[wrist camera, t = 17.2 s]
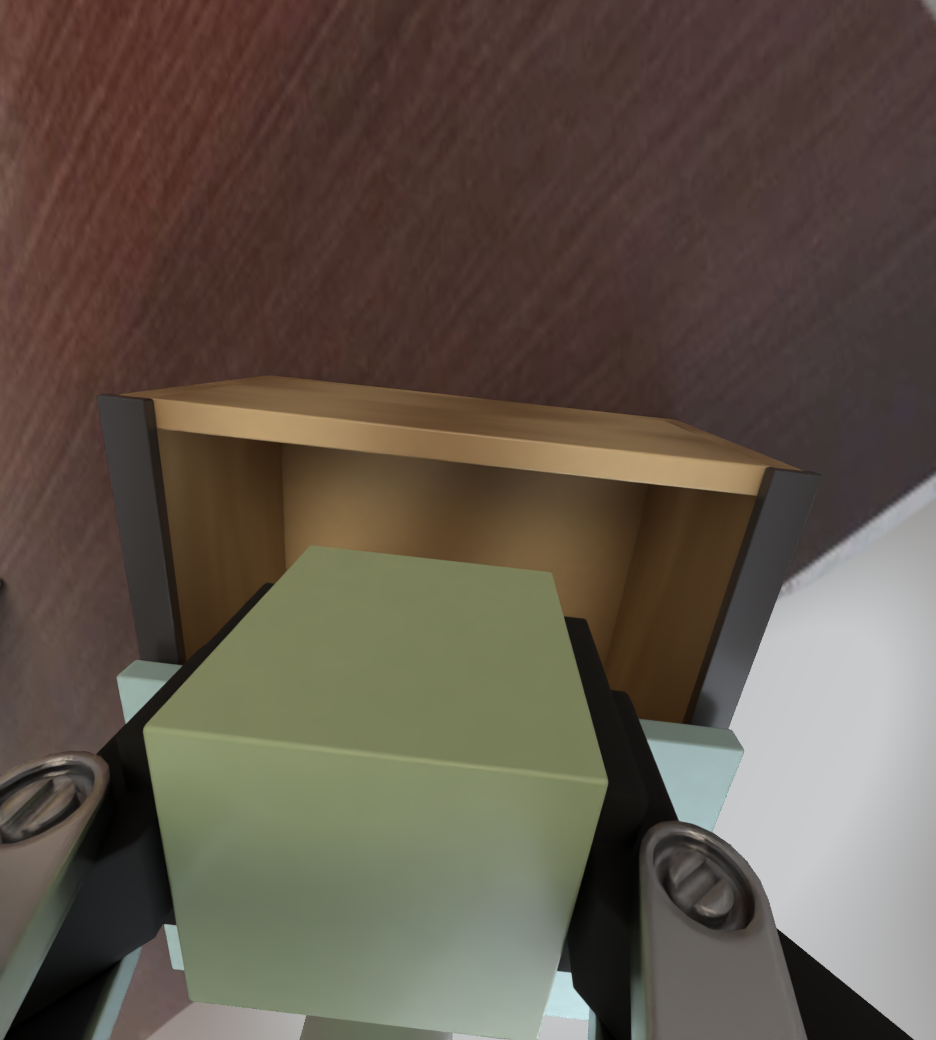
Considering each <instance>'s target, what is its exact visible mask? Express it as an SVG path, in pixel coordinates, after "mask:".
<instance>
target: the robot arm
mask: <svg viewBox="0 0 936 1040" xmlns="http://www.w3.org/2000/svg"><path fill="white" fill-rule="evenodd" d="M274 584H275V583H265V584H264V585H263V586H262V587H261V588H260V589H259V590H258V591H257V592H256V593H255V594H254V595H253V596H252V597H251V598H250V599H249V600H248V601H247V602H246V603H245V604H244V605H243V607H242V608H241V609H240V610H239V611H238V612H237V613H236V614H235V615H234V616H233V617H232V618H231V619H230V620H229V621H228V622H227V623H226V624H225V625H224V626H223V627H222V628H221V629H220V630H219V631H218V632H217V634H216V635H215V636H214V637H213V638H212V639H211V640H210V641H209V642H208V643H207V644H206V645H204V646H202V647H201V648H200V649H199V650H197V651H196V652H195V653H194V654H193V655H192V656H191V657H190V659H189V660H188V661H187V662H186V663H185V664H184V665H183V666H182V667H181V668H180V669H179V670H178V671H177V672H176V673H175V674H174V675H173V676H172V677H171V678H170V679H169V680H168V681H167V682H166V683H165V684H164V685H163V686H162V687H161V688H160V689H159V690H158V691H157V692H156V693H155V694H154V696H153V697H152V698H151V699H150V700H149V701H148V702H147V703H146V704H145V705H144V706H143V707H142V708H141V709H140V710H139V711H138V712H137V713H136V714H135V715H134V716H133V717H132V718H131V719H130V720H129V721H128V722H127V723H126V724H125V725H124V726H123V727H122V728H121V729H120V730H119V732H118V733H117V734H116V735H115V736H114V737H113V738H112V739H111V740H110V741H109V742H108V743H107V744H106V745H105V746H104V747H103V748H102V749H101V750H100V751H99V752H98V753H97V754H93V753H90V752H87V751H66V752H60V753H54V754H49V755H46V756H43V757H40V758H37V759H34V760H31V761H28V762H25V763H23V764H21V765H19V766H17V767H15V768H13V769H11V770H9V771H7V772H5V773H3V774H2V775H0V1040H109V1039H110V1036H111V1033H112V1030H113V1027H114V1025H115V1022H116V1019H117V1016H118V1014H119V1011H120V1008H121V1005H122V1003H123V1000H124V997H125V994H126V991H127V989H128V986H129V983H130V980H131V978H132V975H133V972H134V969H135V967H136V964H137V961H138V958H139V955H140V952H141V948H142V945H144V944H145V943H147V942H149V941H150V940H152V939H153V938H155V936H156V935H157V933H158V931H159V929H160V928H161V926H162V924H168V925H176V919H175V913H174V908H173V902H172V896H171V890H170V885H169V879H168V873H167V867H166V862H165V856H164V850H163V844H162V838H161V833H160V827H159V821H158V815H157V810H156V804H155V798H154V792H153V787H152V781H151V775H150V769H149V764H148V758H147V752H146V746H145V740H144V735H143V729H144V727H145V725H146V724H147V723H148V722H149V720H150V719H151V718H152V717H153V716H154V715H155V714H156V713H157V712H158V711H159V710H160V708H161V707H162V706H163V705H164V704H165V703H166V702H167V701H168V700H169V699H170V698H171V696H172V695H173V694H174V693H175V692H176V691H177V690H178V689H179V688H180V687H181V686H182V684H183V683H184V682H185V681H186V680H187V679H188V678H189V677H190V676H191V675H192V674H193V673H194V671H195V670H196V669H197V668H198V667H199V666H200V665H201V664H202V663H203V662H204V661H205V659H206V658H207V657H208V656H209V655H210V654H211V653H212V652H213V651H214V650H215V649H216V647H217V646H218V645H219V644H220V643H221V642H222V641H223V640H224V639H225V638H226V637H227V635H228V634H229V633H230V632H231V631H232V630H233V629H234V628H235V627H236V626H237V625H238V624H239V622H240V621H241V620H242V619H243V618H244V617H245V616H246V615H247V614H248V613H249V612H250V610H251V609H252V608H253V607H254V606H255V605H256V604H257V603H258V602H259V601H260V600H261V598H262V597H263V596H264V595H265V594H266V593H267V592H268V591H269V590H270V589H271V588H272V586H273V585H274ZM564 619H565V623H566V627H567V631H568V634H569V638H570V642H571V645H572V649H573V653H574V656H575V660H576V664H577V667H578V671H579V675H580V679H581V682H582V686H583V690H584V693H585V697H586V701H587V704H588V708H589V712H590V716H591V719H592V723H593V727H594V730H595V734H596V738H597V741H598V745H599V749H600V752H601V756H602V760H603V764H604V767H605V771H606V775H607V778H608V786H607V790H606V794H605V797H604V801H603V805H602V808H601V812H600V816H599V819H598V823H597V826H596V830H595V834H594V837H593V841H592V845H591V848H590V852H589V856H588V859H587V863H586V866H585V870H584V874H583V877H582V881H581V885H580V888H579V892H578V896H577V899H576V903H575V906H574V910H573V914H572V917H571V921H570V925H569V928H568V932H567V936H566V939H565V943H564V946H563V950H562V954H561V957H560V961H559V965H558V968H557V971H560V972H568V973H571V975H572V982H573V988H574V989H575V991H576V992H577V993H578V994H579V995H580V997H581V998H582V999H583V1000H584V1001H585V1003H586V1004H587V1005H588V1006H589V1029H588V1040H914V1039H912V1038H911V1037H910V1036H909V1035H907V1034H906V1033H905V1032H904V1031H903V1030H901V1029H900V1028H899V1027H898V1026H896V1025H895V1024H894V1023H892V1021H890V1020H889V1019H888V1018H887V1017H885V1016H884V1015H883V1014H882V1013H880V1012H879V1011H878V1010H877V1009H876V1008H874V1007H873V1006H872V1005H871V1004H869V1003H868V1002H867V1001H866V1000H864V999H863V998H862V997H861V996H859V995H858V994H857V993H856V992H855V991H853V990H852V989H851V988H850V987H848V986H847V985H846V984H845V983H843V982H842V981H841V980H840V979H839V978H837V977H836V976H835V975H833V974H832V973H831V972H830V971H829V970H827V969H826V968H825V967H824V966H823V965H821V964H820V963H819V962H817V961H816V960H815V959H814V958H813V957H811V956H810V955H809V954H807V952H805V951H804V950H803V949H802V948H800V947H799V946H798V945H797V944H795V943H794V942H793V941H792V940H791V939H789V938H788V937H787V936H785V935H784V934H783V933H782V932H781V931H779V930H778V929H777V928H776V926H775V921H774V918H773V914H772V911H771V907H770V903H769V900H768V898H767V895H766V893H765V891H764V888H763V886H762V884H761V881H760V879H759V878H758V876H757V875H756V874H755V872H754V871H753V869H752V868H751V867H750V865H749V864H748V862H747V861H746V860H745V859H744V858H743V857H742V856H741V855H740V854H739V853H738V852H737V851H736V850H735V849H734V848H733V847H732V846H731V845H730V844H728V843H727V842H726V841H724V840H723V839H721V838H720V837H718V836H717V835H715V834H714V833H712V832H711V831H708V830H706V829H704V828H702V827H700V826H697V825H695V824H692V823H687V822H682V821H679V819H678V817H677V814H676V812H675V809H674V807H673V804H672V802H671V799H670V797H669V794H668V792H667V789H666V787H665V784H664V782H663V779H662V777H661V774H660V772H659V769H658V766H657V764H656V761H655V759H654V756H653V754H652V751H651V749H650V746H649V744H648V741H647V739H646V736H645V734H644V731H643V729H642V726H641V724H640V721H639V719H638V716H637V714H636V711H635V708H634V706H633V703H632V701H631V699H630V697H629V695H628V694H627V693H626V692H624V691H616V690H611V689H610V686H609V683H608V680H607V677H606V674H605V671H604V669H603V666H602V663H601V660H600V657H599V654H598V651H597V649H596V646H595V643H594V640H593V637H592V634H591V631H590V629H589V626H588V623H587V621H586V619H584V618H575V617H566V616H564ZM176 926H177V925H176Z"/></svg>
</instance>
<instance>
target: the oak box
mask: <svg viewBox="0 0 936 1040" xmlns="http://www.w3.org/2000/svg"><path fill="white" fill-rule="evenodd" d="M97 403H98V409H99V414H100V420H101V426H102V432H103V438H104V444H105V450H106V456H107V462H108V468H109V474H110V480H111V486H112V492H113V498H114V504H115V510H116V516H117V522H118V528H119V534H120V540H121V545H122V551H123V557H124V563H125V569H126V575H127V581H128V587H129V593H130V599H131V605H132V611H133V617H134V623H135V629H136V635H137V641H138V647H139V653H140V659H141V660H142V661H151V662H159V663H168V664H176V665H184V664H185V663H186V662H187V661H188V660H189V659H190V657H191V656H192V655H193V654H194V653H195V652H196V651H197V650H199V649H200V648H201V647H202V646H204V645H206V644H207V643H208V642H209V641H210V640H211V639H212V638H213V637H214V636H215V635H216V634H217V632H218V631H219V630H220V629H221V628H222V627H223V626H224V625H225V624H226V623H227V622H228V621H229V620H230V619H231V618H232V617H233V616H234V615H235V614H236V613H237V612H238V611H239V610H240V609H241V608H242V607H243V605H244V604H245V603H246V602H247V601H248V600H249V599H250V598H251V597H252V596H253V595H254V594H255V593H256V592H257V591H258V590H259V589H260V588H261V587H262V586H263V585H264V584H265V583H276V582H277V581H278V580H279V579H280V578H281V577H282V576H283V575H284V573H285V572H286V571H287V570H288V569H289V568H290V567H291V566H292V565H293V564H294V563H295V561H296V560H297V559H298V558H299V557H300V556H301V555H302V554H303V553H304V552H305V551H306V549H307V548H308V547H309V546H311V545H314V546H322V547H331V548H340V549H349V550H358V551H367V552H376V553H385V554H393V555H402V556H411V557H420V558H429V559H438V560H447V561H456V562H464V563H473V564H482V565H491V566H500V567H509V568H518V569H527V570H535V571H544V572H551V573H552V575H553V579H554V582H555V586H556V590H557V594H558V597H559V601H560V605H561V608H562V612H563V616H566V617H575V618H584V619H586V621H587V623H588V626H589V629H590V631H591V634H592V637H593V640H594V643H595V646H596V649H597V651H598V654H599V657H600V660H601V663H602V666H603V669H604V671H605V674H606V677H607V680H608V683H609V686H610V689H611V690H616V691H624V692H626V693H627V694H628V695H629V697H630V699H631V701H632V703H633V706H634V708H635V711H636V714H637V716H638V719H645V720H654V721H662V722H671V723H679V724H688V725H696V726H705V727H713V728H722V729H728V727H729V725H730V722H731V720H732V717H733V714H734V711H735V709H736V706H737V704H738V701H739V698H740V696H741V693H742V691H743V687H744V685H745V683H746V680H747V677H748V675H749V672H750V669H751V666H752V664H753V661H754V659H755V656H756V653H757V651H758V648H759V645H760V643H761V640H762V637H763V635H764V632H765V629H766V626H767V624H768V621H769V618H770V616H771V613H772V610H773V608H774V605H775V603H776V600H777V597H778V595H779V592H780V589H781V587H782V584H783V581H784V579H785V576H786V573H787V571H788V568H789V565H790V563H791V560H792V557H793V555H794V552H795V549H796V547H797V544H798V541H799V539H800V536H801V533H802V531H803V528H804V526H805V523H806V520H807V518H808V515H809V512H810V510H811V507H812V504H813V502H814V499H815V496H816V494H817V491H818V488H819V486H820V483H821V480H822V478H823V476H822V475H820V474H818V473H815V472H811V471H802V470H800V469H798V468H796V467H793V466H791V465H788V464H785V463H783V462H780V461H778V460H775V459H773V458H770V457H768V456H765V455H763V454H760V453H758V452H755V451H753V450H750V449H748V448H745V447H743V446H740V445H738V444H735V443H733V442H730V441H728V440H725V439H723V438H720V437H718V436H715V435H713V434H710V433H708V432H705V431H703V430H700V429H698V428H695V427H693V426H690V425H688V424H685V423H683V422H681V421H678V420H673V419H664V418H655V417H646V416H637V415H628V414H619V413H610V412H600V411H591V410H582V409H573V408H564V407H555V406H546V405H537V404H528V403H519V402H510V401H500V400H491V399H482V398H473V397H464V396H455V395H446V394H437V393H428V392H419V391H410V390H400V389H391V388H382V387H373V386H364V385H355V384H346V383H337V382H328V381H319V380H310V379H300V378H291V377H282V376H273V375H267V376H259V377H251V378H244V379H236V380H228V381H220V382H212V383H204V384H196V385H189V386H181V387H173V388H165V389H157V390H149V391H141V392H133V393H126V394H120V395H116V394H100V395H97Z"/></svg>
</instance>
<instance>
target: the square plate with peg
mask: <svg viewBox="0 0 936 1040" xmlns="http://www.w3.org/2000/svg"><path fill="white" fill-rule="evenodd" d="M182 666H183V665H176V664H168V663H159V662H151V661H142V660H135V661H134V662H132V663H131V664H130V665H129V666H128V667H127V668H126V669H124V670H123V671H122V672H121V673H120V674H119V675H118V676H117V682H118V687H119V692H120V698H121V703H122V708H123V713H124V718H125V724H126V723H127V722H128V721H129V720H130V719H131V718H132V717H133V716H134V715H135V714H136V713H137V712H138V711H139V710H140V709H141V708H142V707H143V706H144V705H145V704H146V703H147V702H148V701H149V700H150V699H151V698H152V697H153V696H154V694H155V693H156V692H157V691H158V690H159V689H160V688H161V687H162V686H163V685H164V684H165V683H166V682H167V681H168V680H169V679H170V678H171V677H172V676H173V675H174V674H175V673H176V672H177V671H178V670H179V669H180V668H181V667H182ZM639 721H640V724H641V726H642V729H643V731H644V734H645V736H646V739H647V741H648V744H649V746H650V749H651V751H652V754H653V756H654V759H655V761H656V764H657V766H658V769H659V772H660V774H661V777H662V779H663V782H664V784H665V787H666V789H667V792H668V794H669V797H670V799H671V802H672V804H673V807H674V809H675V812H676V814H677V817H678V819H679V821H682V822H687V823H692V824H695V825H697V826H700V827H702V828H704V829H706V830H708V831H711V832H712V831H713V828H714V826H715V823H716V821H717V818H718V816H719V813H720V811H721V808H722V805H723V803H724V801H725V798H726V796H727V793H728V791H729V788H730V786H731V783H732V781H733V778H734V776H735V773H736V771H737V768H738V766H739V763H740V761H741V758H742V756H743V753H744V749H743V747H742V745H741V744H740V742H739V741H738V739H737V737H736V736H735V734H734V733H733V731H732V730H729V729H722V728H713V727H705V726H696V725H688V724H679V723H671V722H662V721H654V720H645V719H639ZM164 926H165V932H166V937H167V942H168V947H169V952H170V958H171V963H172V968H173V969H180V970H184V965H183V959H182V954H181V948H180V942H179V936H178V931H177V926H176V925H168V924H164ZM545 1015H549V1016H557V1017H565V1018H573V1019H581V1020H589V1006H588V1005H587V1004H586V1003H585V1001H584V1000H583V999H582V998H581V997H580V995H579V994H578V993H577V992H576V991H575V989H574V988H573V982H572V975H571V973H568V972H560V971H557V972H556V976H555V979H554V983H553V986H552V990H551V994H550V997H549V1001H548V1005H547V1008H546V1012H545ZM300 1040H452V1033H450V1032H442V1031H433V1030H425V1029H417V1028H409V1027H400V1026H392V1025H384V1024H376V1023H367V1022H359V1021H351V1020H342V1019H334V1018H326V1017H318V1016H309V1015H306V1019H305V1022H304V1026H303V1030H302V1033H301V1037H300Z"/></svg>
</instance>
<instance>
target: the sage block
mask: <svg viewBox="0 0 936 1040" xmlns="http://www.w3.org/2000/svg"><path fill="white" fill-rule="evenodd" d="M143 735H144V740H145V746H146V752H147V758H148V764H149V769H150V775H151V781H152V787H153V792H154V798H155V804H156V810H157V815H158V821H159V827H160V833H161V838H162V844H163V850H164V856H165V862H166V867H167V873H168V879H169V885H170V890H171V896H172V902H173V908H174V913H175V919H176V925H177V931H178V936H179V942H180V948H181V954H182V959H183V965H184V971H185V977H186V983H187V988H188V994H189V999H190V1000H191V1001H194V1002H203V1003H210V1004H219V1005H227V1006H235V1007H243V1008H252V1009H260V1010H269V1011H276V1012H286V1013H293V1014H301V1015H309V1016H318V1017H326V1018H334V1019H342V1020H351V1021H359V1022H367V1023H376V1024H384V1025H392V1026H400V1027H409V1028H417V1029H425V1030H433V1031H442V1032H450V1033H459V1034H466V1035H475V1036H483V1037H491V1038H499V1039H508V1040H538V1037H539V1034H540V1030H541V1026H542V1023H543V1019H544V1016H545V1012H546V1008H547V1005H548V1001H549V997H550V994H551V990H552V986H553V983H554V979H555V976H556V972H557V968H558V965H559V961H560V957H561V954H562V950H563V946H564V943H565V939H566V936H567V932H568V928H569V925H570V921H571V917H572V914H573V910H574V906H575V903H576V899H577V896H578V892H579V888H580V885H581V881H582V877H583V874H584V870H585V866H586V863H587V859H588V856H589V852H590V848H591V845H592V841H593V837H594V834H595V830H596V826H597V823H598V819H599V816H600V812H601V808H602V805H603V801H604V797H605V794H606V790H607V786H608V778H607V775H606V771H605V767H604V764H603V760H602V756H601V752H600V749H599V745H598V741H597V738H596V734H595V730H594V727H593V723H592V719H591V716H590V712H589V708H588V704H587V701H586V697H585V693H584V690H583V686H582V682H581V679H580V675H579V671H578V667H577V664H576V660H575V656H574V653H573V649H572V645H571V642H570V638H569V634H568V631H567V627H566V623H565V619H564V616H563V612H562V608H561V605H560V601H559V597H558V594H557V590H556V586H555V582H554V579H553V575H552V573H551V572H544V571H535V570H527V569H518V568H509V567H500V566H491V565H482V564H473V563H464V562H456V561H447V560H438V559H429V558H420V557H411V556H402V555H393V554H385V553H376V552H367V551H358V550H349V549H340V548H331V547H322V546H314V545H311V546H309V547H308V548H307V549H306V551H305V552H304V553H303V554H302V555H301V556H300V557H299V558H298V559H297V560H296V561H295V563H294V564H293V565H292V566H291V567H290V568H289V569H288V570H287V571H286V572H285V573H284V575H283V576H282V577H281V578H280V579H279V580H278V581H277V582H276V583H275V584H274V585H273V586H272V588H271V589H270V590H269V591H268V592H267V593H266V594H265V595H264V596H263V597H262V598H261V600H260V601H259V602H258V603H257V604H256V605H255V606H254V607H253V608H252V609H251V610H250V612H249V613H248V614H247V615H246V616H245V617H244V618H243V619H242V620H241V621H240V622H239V624H238V625H237V626H236V627H235V628H234V629H233V630H232V631H231V632H230V633H229V634H228V635H227V637H226V638H225V639H224V640H223V641H222V642H221V643H220V644H219V645H218V646H217V647H216V649H215V650H214V651H213V652H212V653H211V654H210V655H209V656H208V657H207V658H206V659H205V661H204V662H203V663H202V664H201V665H200V666H199V667H198V668H197V669H196V670H195V671H194V673H193V674H192V675H191V676H190V677H189V678H188V679H187V680H186V681H185V682H184V683H183V684H182V686H181V687H180V688H179V689H178V690H177V691H176V692H175V693H174V694H173V695H172V696H171V698H170V699H169V700H168V701H167V702H166V703H165V704H164V705H163V706H162V707H161V708H160V710H159V711H158V712H157V713H156V714H155V715H154V716H153V717H152V718H151V719H150V720H149V722H148V723H147V724H146V725H145V727H144V729H143Z"/></svg>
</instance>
